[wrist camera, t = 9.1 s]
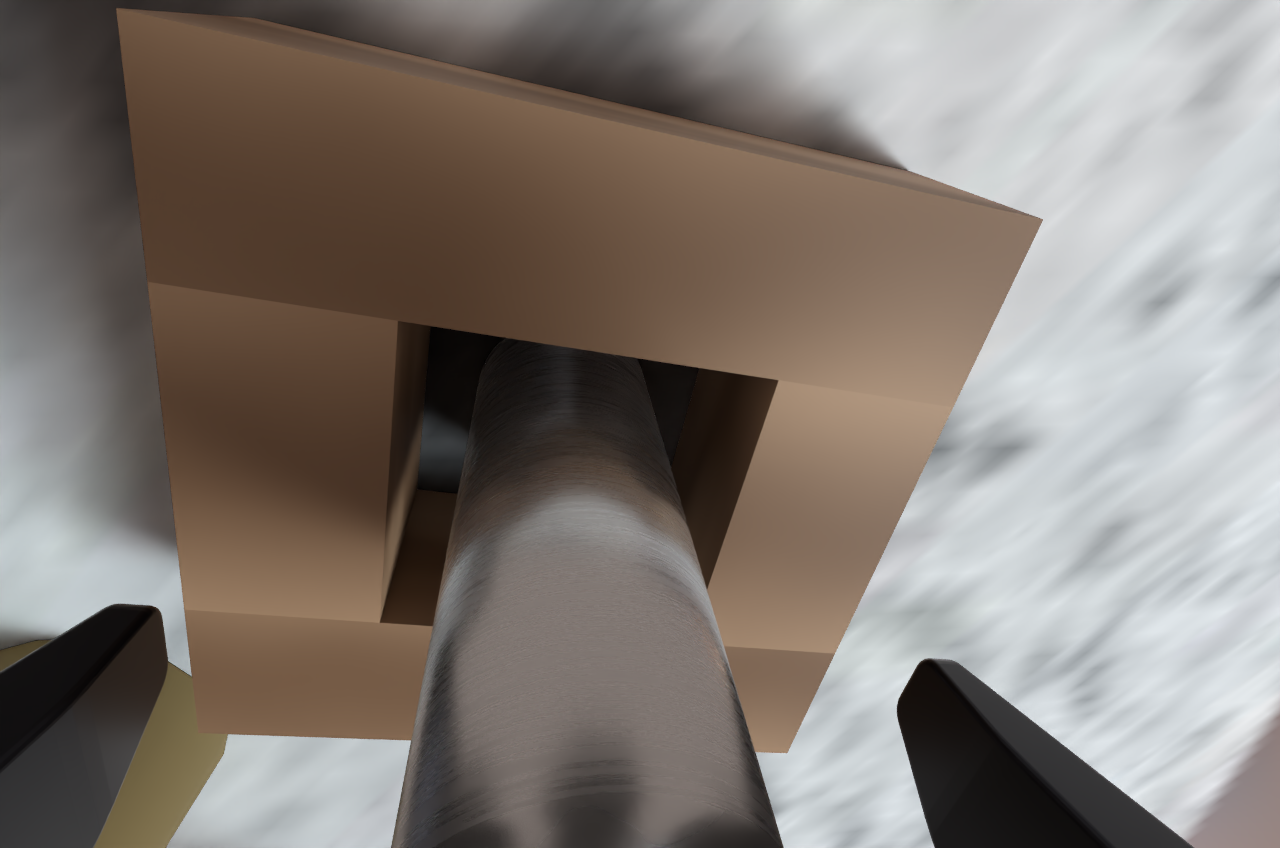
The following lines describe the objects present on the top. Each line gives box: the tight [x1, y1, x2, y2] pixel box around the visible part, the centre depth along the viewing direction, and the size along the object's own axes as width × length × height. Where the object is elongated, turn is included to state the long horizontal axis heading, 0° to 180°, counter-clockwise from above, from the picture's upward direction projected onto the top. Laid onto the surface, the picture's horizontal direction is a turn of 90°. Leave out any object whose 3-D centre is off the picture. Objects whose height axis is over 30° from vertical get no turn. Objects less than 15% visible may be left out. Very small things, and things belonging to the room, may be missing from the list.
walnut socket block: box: [116, 8, 1043, 753], centre depth 13 cm, size 12×12×4 cm
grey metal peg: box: [391, 338, 784, 848], centre depth 10 cm, size 4×4×10 cm
